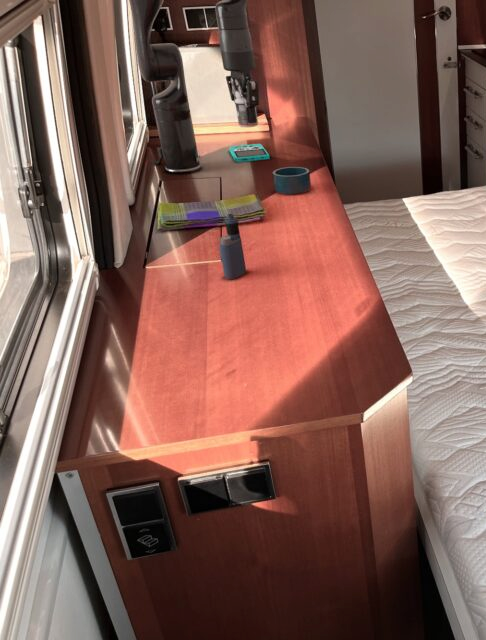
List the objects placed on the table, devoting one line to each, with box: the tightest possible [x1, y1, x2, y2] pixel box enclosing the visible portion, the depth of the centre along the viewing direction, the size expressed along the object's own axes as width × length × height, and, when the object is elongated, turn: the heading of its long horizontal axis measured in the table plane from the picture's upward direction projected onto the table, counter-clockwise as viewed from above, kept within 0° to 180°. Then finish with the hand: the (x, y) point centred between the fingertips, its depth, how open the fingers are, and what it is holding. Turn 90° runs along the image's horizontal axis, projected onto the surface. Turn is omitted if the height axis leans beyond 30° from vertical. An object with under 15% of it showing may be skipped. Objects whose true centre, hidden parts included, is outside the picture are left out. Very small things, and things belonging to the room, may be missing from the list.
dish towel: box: [157, 193, 268, 231], centre depth 194 cm, size 18×24×3 cm
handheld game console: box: [229, 143, 271, 163], centre depth 246 cm, size 10×16×1 cm, turn 24°
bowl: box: [272, 166, 312, 196], centre depth 213 cm, size 9×9×5 cm
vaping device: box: [218, 214, 247, 280], centre depth 159 cm, size 3×5×12 cm, turn 161°
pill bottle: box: [234, 91, 259, 128], centre depth 203 cm, size 5×5×8 cm
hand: (247, 121), depth 205 cm, fingers closed on pill bottle, 4 cm apart
